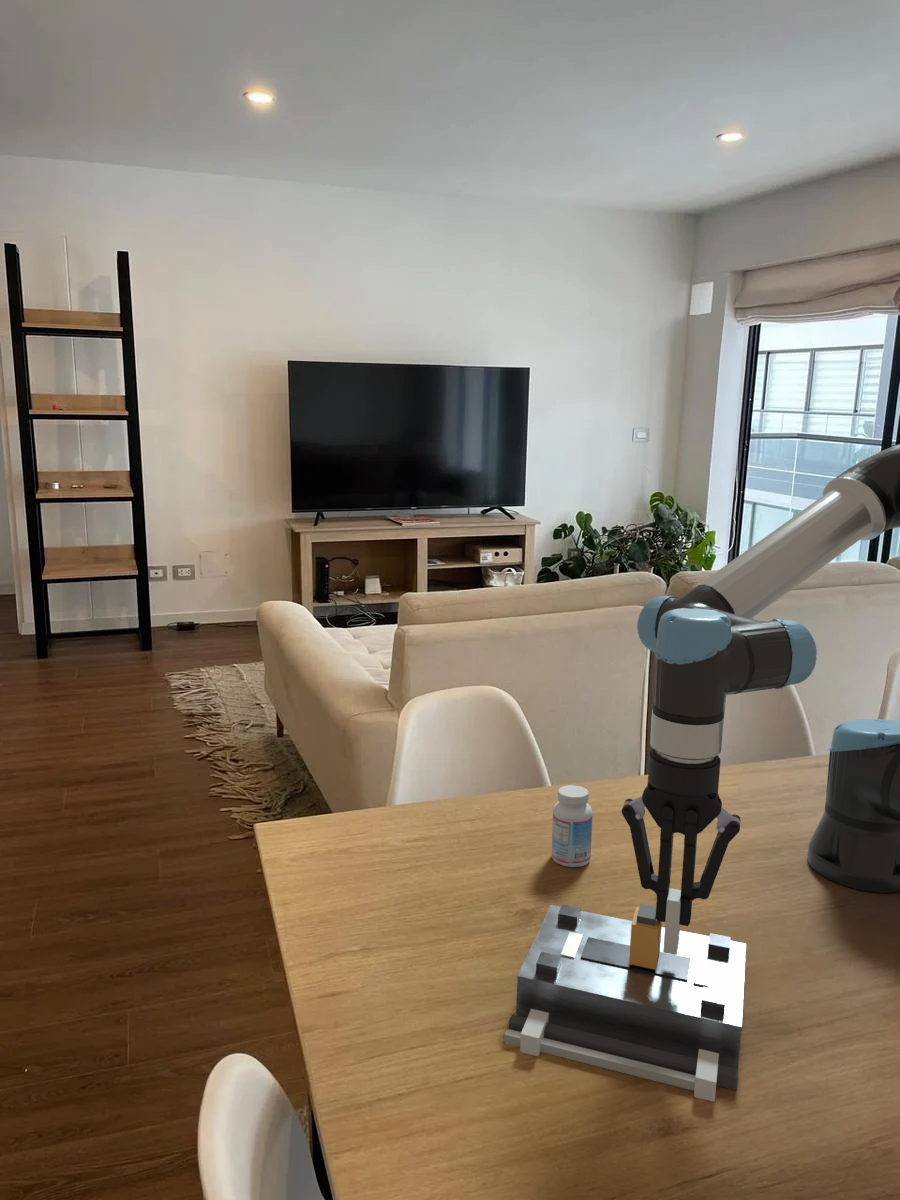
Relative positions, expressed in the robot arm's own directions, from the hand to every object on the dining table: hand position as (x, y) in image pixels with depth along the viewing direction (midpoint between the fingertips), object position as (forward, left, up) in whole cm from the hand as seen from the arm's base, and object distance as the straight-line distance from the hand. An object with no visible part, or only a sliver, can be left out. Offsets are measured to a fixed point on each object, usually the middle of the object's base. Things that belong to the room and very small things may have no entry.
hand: (671, 946), depth 101 cm
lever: (+3, 0, -2) cm, 4 cm away
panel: (+4, 0, -8) cm, 8 cm away
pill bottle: (+18, -31, -8) cm, 36 cm away
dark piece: (+4, 0, -8) cm, 8 cm away
